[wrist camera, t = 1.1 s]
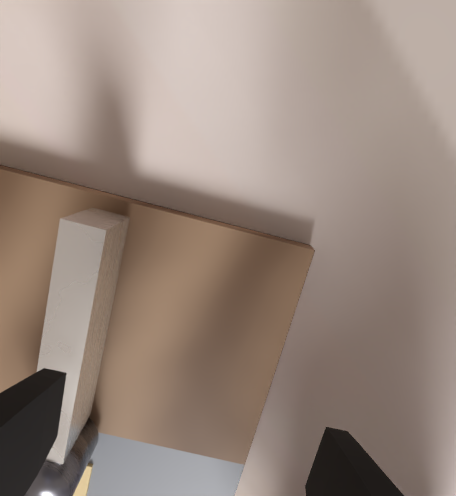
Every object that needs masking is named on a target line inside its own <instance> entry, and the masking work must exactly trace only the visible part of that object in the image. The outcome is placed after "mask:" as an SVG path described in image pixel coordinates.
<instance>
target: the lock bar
mask: <svg viewBox="0 0 456 496" xmlns="http://www.w3.org/2000/svg"><path fill="white" fill-rule="evenodd" d="M129 219H130V217H128V216H124V215H120V214H116V213H112V212H108V211H104V210H100V209H96V208H90V209H87V210H84V211H81V212H78V213H75V214H72V215H69V216H66V217H63V218H60V222H59V229H58V235H57V242H56V248H55V255H54V261H53V268H52V275H51V281H50V288H49V294H48V301H47V307H46V314H45V320H44V327H43V333H42V340H41V346H40V353H39V359H38V366H37V372H38V371H39V370H41V369H43V368H46V369H51V370H56V371H61V372H65V373H67V374H66V381H65V388H64V395H63V401H62V408H61V415H60V422H59V429H58V435H57V438H56V440H55V442H54V444H53V446H52V448H51V450H50V452H49V454H48V456H47V458H46V460H45V462H44V464H43V466H42V468H41V469H40V471H39V473H38V475H37V477H36V478H35V480H34V481H33V483H32V485H31V486H30V488H29V489H28V491H27V492H26V494H25V495H24V496H73V494H74V492H75V490H76V488H77V486H78V484H79V482H80V479H81V477H82V475H83V473H84V471H85V469H86V467H87V465H88V462H89V460H90V458H91V456H92V454H93V452H94V450H95V448H96V445H97V443H98V439H99V434H98V430H97V427H96V425H95V424H94V422H93V421H92V420H91V419H90V418H89V416H90V414H91V410H92V405H93V400H94V395H95V390H96V385H97V380H98V375H99V370H100V365H101V360H102V355H103V350H104V345H105V340H106V335H107V330H108V325H109V319H110V314H111V309H112V304H113V299H114V294H115V289H116V284H117V279H118V274H119V269H120V264H121V259H122V254H123V249H124V244H125V239H126V234H127V229H128V224H129Z"/></svg>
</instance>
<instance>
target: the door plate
mask: <svg viewBox="0 0 456 496" xmlns="http://www.w3.org/2000/svg"><path fill="white" fill-rule="evenodd" d="M98 434H99V439H98V443H97V445H96V448H95V450H94V452H93V454H92V456H91V458H90V460H89V462H88V465H87V467H86V469H85V471H84V473H83V475H82V477H81V479H80V482H79V484H78V486H77V488H76V490H75V492H74V494H73V496H235V493H236V490H237V486H238V483H239V480H240V477H241V474H242V471H243V468H244V465H243V464H238V463H234V462H229V461H225V460H220V459H216V458H211V457H207V456H202V455H198V454H193V453H189V452H184V451H180V450H175V449H171V448H166V447H162V446H157V445H153V444H148V443H144V442H139V441H135V440H130V439H126V438H121V437H117V436H112V435H108V434H103V433H99V432H98Z"/></svg>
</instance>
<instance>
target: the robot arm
mask: <svg viewBox="0 0 456 496" xmlns="http://www.w3.org/2000/svg"><path fill="white" fill-rule="evenodd" d="M66 374H67V373H65V372H61V371H56V370H51V369H46V368H43V369H41V370H39V371H38V372H36V373H34V374H32V375H31V376H29V377H27V378H25V379H24V380H22V381H20V382H18V383H17V384H15V385H13V386H11V387H10V388H8V389H6V390H4V391H3V392H1V393H0V496H24V495H25V494H26V492H27V491H28V489H29V488H30V486H31V485H32V483H33V481H34V480H35V478H36V477H37V475H38V473H39V471H40V469H41V468H42V466H43V464H44V462H45V460H46V458H47V456H48V454H49V452H50V450H51V448H52V446H53V444H54V442H55V440H56V438H57V435H58V429H59V422H60V415H61V408H62V401H63V395H64V388H65V381H66ZM305 488H306V496H404V495H403V494H402V493H401V492H400V491H399V489H398V488H397V487H396V486H395V485H394V484H393V483H392V481H391V480H390V479H389V478H388V477H387V476H386V475H385V473H384V472H383V471H382V470H381V469H380V468H379V466H378V465H377V464H376V463H375V462H374V461H373V459H372V458H371V457H370V456H369V455H368V454H367V453H366V451H365V450H364V449H363V448H362V447H361V446H360V445H359V443H358V442H357V441H356V440H355V439H354V438H353V437H352V436H351V435H350V434H349V433H348V432H347V431H343V430H338V429H333V428H329V427H326V429H325V432H324V434H323V437H322V440H321V443H320V446H319V449H318V451H317V454H316V457H315V460H314V463H313V466H312V469H311V471H310V474H309V477H308V480H307V483H306V486H305Z"/></svg>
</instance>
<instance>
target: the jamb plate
mask: <svg viewBox="0 0 456 496" xmlns="http://www.w3.org/2000/svg"><path fill="white" fill-rule="evenodd" d="M90 208H96V209H100V210H104V211H108V212H112V213H116V214H120V215H124V216H128V217H130V219H129V224H128V229H127V234H126V239H125V244H124V249H123V254H122V259H121V264H120V269H119V274H118V279H117V284H116V289H115V294H114V299H113V304H112V309H111V314H110V319H109V325H108V330H107V335H106V340H105V345H104V350H103V355H102V360H101V365H100V370H99V375H98V380H97V385H96V390H95V395H94V400H93V405H92V410H91V414H90V416H89V418H90V419H91V420H92V421H93V422H94V424H95V425H96V427H97V430H98V432H99V433H103V434H108V435H112V436H117V437H121V438H126V439H130V440H135V441H139V442H144V443H148V444H153V445H157V446H162V447H166V448H171V449H175V450H180V451H184V452H189V453H193V454H198V455H202V456H207V457H211V458H216V459H220V460H225V461H229V462H234V463H238V464H243V465H245V462H246V459H247V456H248V453H249V450H250V447H251V444H252V441H253V438H254V435H255V432H256V428H257V425H258V422H259V419H260V416H261V413H262V410H263V407H264V404H265V401H266V398H267V395H268V392H269V389H270V386H271V383H272V380H273V377H274V374H275V371H276V367H277V364H278V361H279V358H280V355H281V352H282V349H283V346H284V343H285V340H286V337H287V334H288V331H289V328H290V325H291V322H292V319H293V316H294V313H295V309H296V306H297V303H298V300H299V297H300V294H301V291H302V288H303V285H304V282H305V279H306V276H307V273H308V270H309V267H310V264H311V261H312V258H313V255H314V252H315V250H314V249H313V248H312V247H311V246H310V245H307V244H303V243H300V242H296V241H292V240H288V239H284V238H280V237H276V236H273V235H269V234H265V233H261V232H257V231H253V230H249V229H245V228H242V227H238V226H234V225H230V224H226V223H222V222H218V221H215V220H211V219H207V218H203V217H199V216H195V215H191V214H188V213H184V212H180V211H176V210H172V209H168V208H164V207H161V206H157V205H153V204H149V203H145V202H141V201H137V200H134V199H130V198H126V197H122V196H118V195H114V194H110V193H107V192H103V191H99V190H95V189H91V188H87V187H83V186H79V185H76V184H72V183H68V182H64V181H60V180H56V179H52V178H49V177H45V176H41V175H37V174H33V173H29V172H25V171H22V170H18V169H14V168H10V167H6V166H2V165H0V393H1V392H3V391H4V390H6V389H8V388H10V387H11V386H13V385H15V384H17V383H18V382H20V381H22V380H24V379H25V378H27V377H29V376H31V375H32V374H34V373H36V372H37V366H38V359H39V353H40V346H41V340H42V333H43V327H44V320H45V314H46V307H47V301H48V294H49V288H50V281H51V275H52V268H53V261H54V255H55V248H56V242H57V235H58V229H59V222H60V218H63V217H66V216H69V215H72V214H75V213H78V212H81V211H84V210H87V209H90Z"/></svg>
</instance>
